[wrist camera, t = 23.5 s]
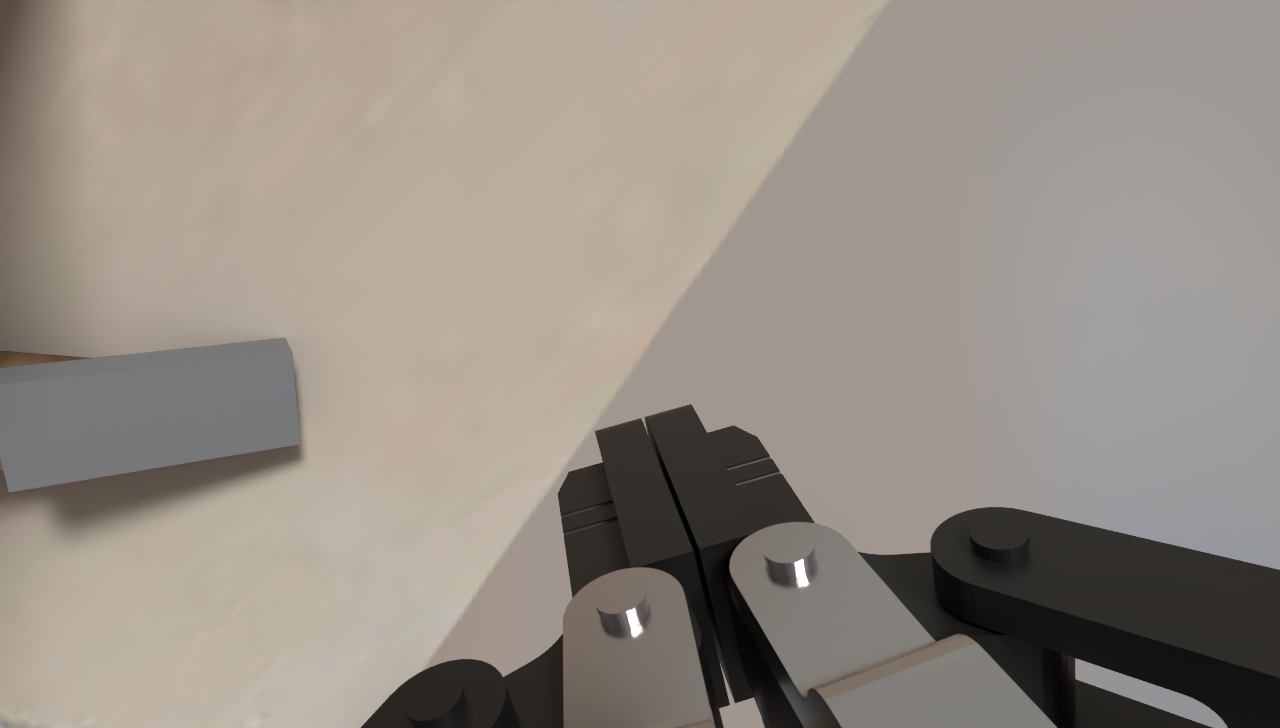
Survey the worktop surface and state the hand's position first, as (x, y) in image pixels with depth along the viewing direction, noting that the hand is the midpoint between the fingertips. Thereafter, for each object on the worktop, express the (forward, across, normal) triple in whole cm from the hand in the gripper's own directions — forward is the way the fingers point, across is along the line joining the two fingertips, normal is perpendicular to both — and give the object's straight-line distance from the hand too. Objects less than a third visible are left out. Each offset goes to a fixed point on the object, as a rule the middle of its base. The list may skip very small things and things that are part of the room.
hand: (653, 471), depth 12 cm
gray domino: (+30, +15, +7) cm, 34 cm away
